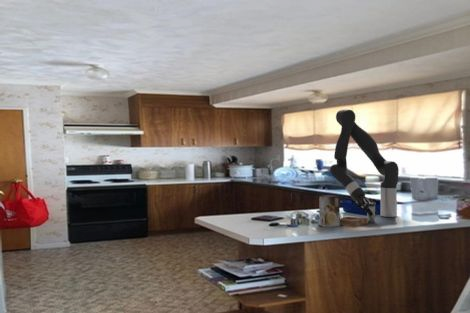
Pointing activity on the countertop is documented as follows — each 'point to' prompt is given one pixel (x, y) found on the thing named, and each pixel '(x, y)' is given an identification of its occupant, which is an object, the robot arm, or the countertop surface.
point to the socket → (353, 221)
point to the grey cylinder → (372, 207)
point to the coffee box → (329, 211)
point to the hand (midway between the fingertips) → (374, 214)
